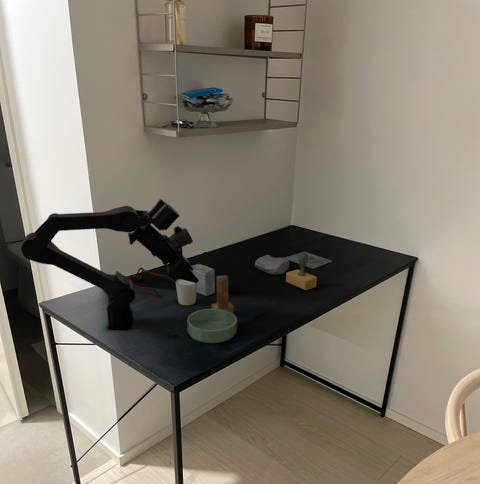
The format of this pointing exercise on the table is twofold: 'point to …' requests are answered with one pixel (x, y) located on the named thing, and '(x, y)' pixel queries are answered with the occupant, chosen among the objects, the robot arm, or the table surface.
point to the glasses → (150, 273)
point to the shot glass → (186, 292)
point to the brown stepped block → (222, 295)
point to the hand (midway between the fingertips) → (194, 276)
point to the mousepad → (310, 260)
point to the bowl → (212, 325)
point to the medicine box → (204, 279)
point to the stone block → (272, 264)
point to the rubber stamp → (301, 275)
